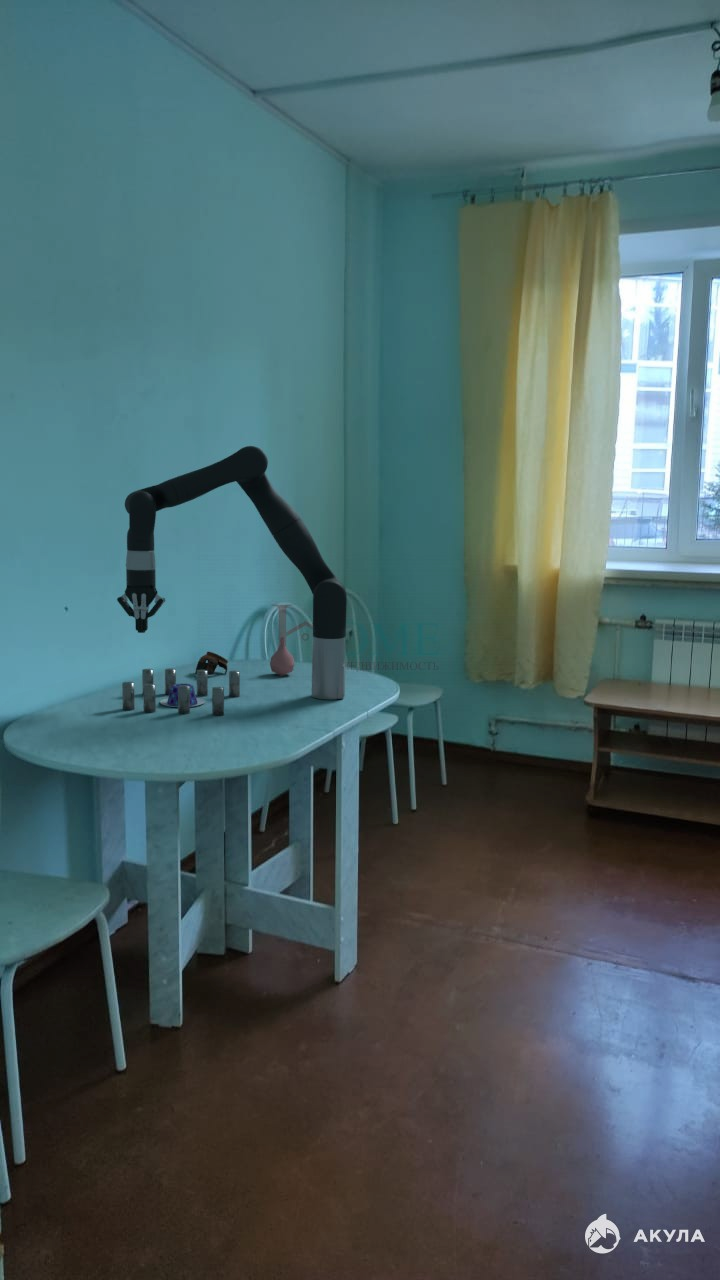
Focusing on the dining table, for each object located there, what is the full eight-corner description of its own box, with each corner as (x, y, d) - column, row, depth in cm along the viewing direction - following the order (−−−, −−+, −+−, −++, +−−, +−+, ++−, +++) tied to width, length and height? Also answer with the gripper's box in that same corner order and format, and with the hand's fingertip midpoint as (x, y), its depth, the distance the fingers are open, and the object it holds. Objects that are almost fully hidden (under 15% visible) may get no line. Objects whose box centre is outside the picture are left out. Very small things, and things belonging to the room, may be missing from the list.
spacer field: (240, 695, 261) (240, 670, 260) (222, 716, 237) (222, 689, 235) (146, 691, 263) (146, 667, 262) (118, 712, 238) (118, 685, 237)
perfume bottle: (293, 677, 287) (293, 639, 285) (268, 677, 287) (269, 639, 285) (295, 673, 295) (295, 635, 293) (271, 672, 295) (271, 635, 293)
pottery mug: (191, 673, 292) (203, 650, 293) (218, 686, 293) (230, 663, 295) (194, 671, 280) (206, 647, 282) (222, 684, 282) (234, 660, 283)
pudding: (156, 709, 244) (155, 689, 243) (164, 698, 255) (163, 680, 255) (201, 710, 244) (201, 690, 243) (207, 699, 256) (207, 681, 255)
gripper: (169, 567, 248) (169, 631, 251) (120, 565, 248) (121, 629, 251) (161, 569, 240) (162, 635, 243) (111, 567, 241) (112, 633, 244)
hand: (141, 632), depth 247 cm, fingers closed
